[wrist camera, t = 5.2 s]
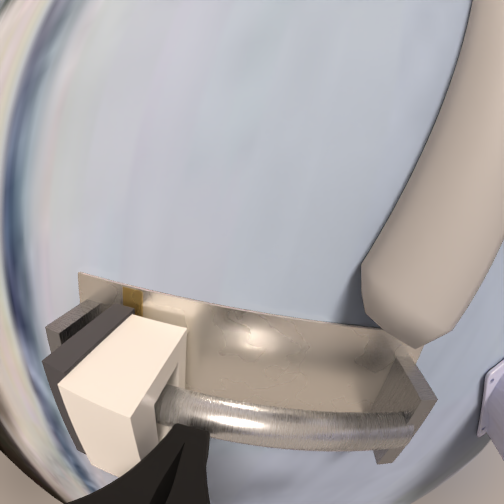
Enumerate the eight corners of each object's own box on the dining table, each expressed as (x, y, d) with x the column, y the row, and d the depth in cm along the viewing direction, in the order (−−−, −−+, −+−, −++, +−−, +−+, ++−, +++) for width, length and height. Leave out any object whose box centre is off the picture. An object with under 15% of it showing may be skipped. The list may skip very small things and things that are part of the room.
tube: (445, 376, 9) (550, 22, 3) (380, 363, 7) (510, -40, 1) (387, 313, 14) (501, 24, 8) (317, 282, 12) (461, -28, 6)
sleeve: (187, 328, 13) (130, 417, 7) (184, 407, 14) (149, 489, 8) (132, 314, 13) (57, 384, 7) (138, 392, 14) (91, 464, 8)
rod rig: (427, 332, 12) (468, 381, 8) (376, 431, 14) (391, 483, 10) (80, 271, 14) (23, 300, 9) (94, 378, 15) (58, 418, 11)
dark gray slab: (134, 308, 13) (63, 372, 7) (140, 392, 15) (96, 460, 9) (115, 303, 13) (41, 360, 7) (123, 386, 15) (77, 449, 9)
